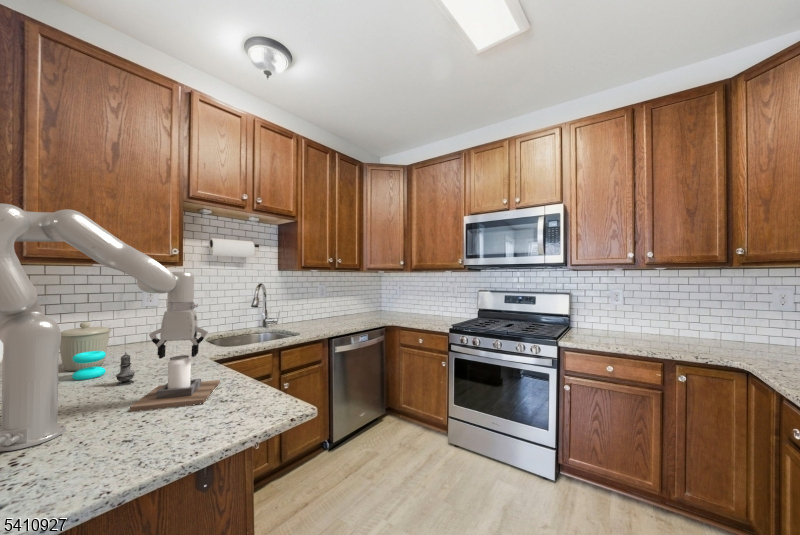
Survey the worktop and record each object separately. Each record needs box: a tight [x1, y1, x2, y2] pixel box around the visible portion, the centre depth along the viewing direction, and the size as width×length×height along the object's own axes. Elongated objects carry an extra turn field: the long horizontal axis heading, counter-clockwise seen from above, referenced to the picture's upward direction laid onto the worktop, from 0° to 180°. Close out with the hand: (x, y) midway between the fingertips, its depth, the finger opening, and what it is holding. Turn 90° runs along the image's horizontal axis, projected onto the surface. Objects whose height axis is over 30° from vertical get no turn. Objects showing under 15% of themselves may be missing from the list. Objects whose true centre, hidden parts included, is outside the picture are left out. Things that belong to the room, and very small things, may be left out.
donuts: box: [71, 351, 107, 381], centre depth 132 cm, size 10×10×10 cm
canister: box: [59, 321, 112, 372], centre depth 146 cm, size 18×18×21 cm
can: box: [167, 354, 192, 389], centre depth 110 cm, size 6×6×12 cm
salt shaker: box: [115, 352, 136, 387], centre depth 124 cm, size 6×6×12 cm
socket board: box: [129, 378, 221, 413], centre depth 110 cm, size 20×20×4 cm
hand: (178, 356), depth 110 cm, fingers open, 9 cm apart
